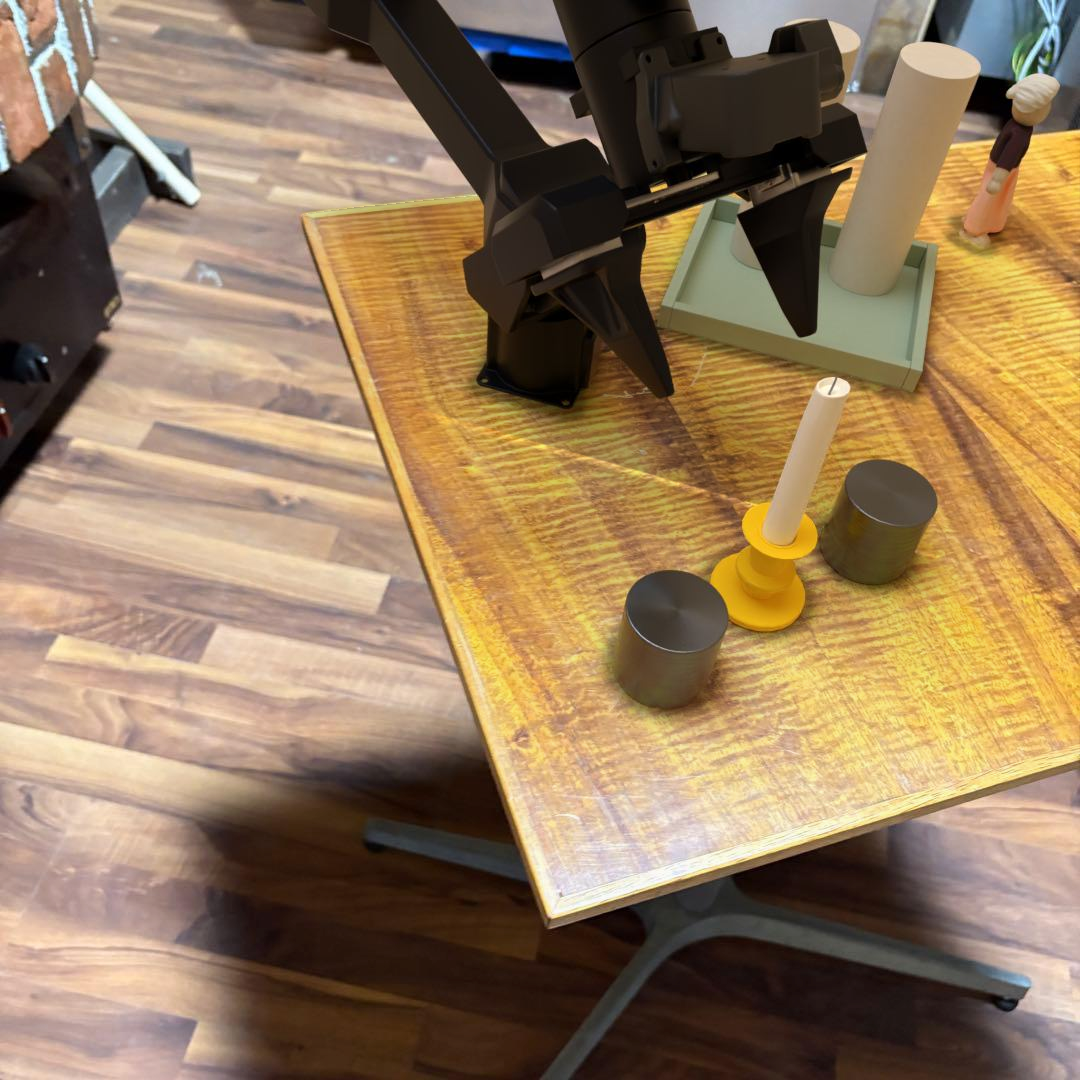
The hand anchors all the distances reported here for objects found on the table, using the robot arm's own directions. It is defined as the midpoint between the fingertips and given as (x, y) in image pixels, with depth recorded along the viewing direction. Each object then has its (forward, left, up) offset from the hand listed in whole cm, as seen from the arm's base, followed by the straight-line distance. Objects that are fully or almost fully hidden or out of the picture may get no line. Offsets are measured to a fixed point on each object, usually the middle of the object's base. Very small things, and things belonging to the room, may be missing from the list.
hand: (739, 365), depth 50 cm
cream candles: (+3, +29, -12) cm, 31 cm away
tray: (+2, +25, -12) cm, 28 cm away
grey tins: (+4, -3, -12) cm, 13 cm away
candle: (+4, -3, -12) cm, 14 cm away
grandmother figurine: (+14, +40, -12) cm, 44 cm away
